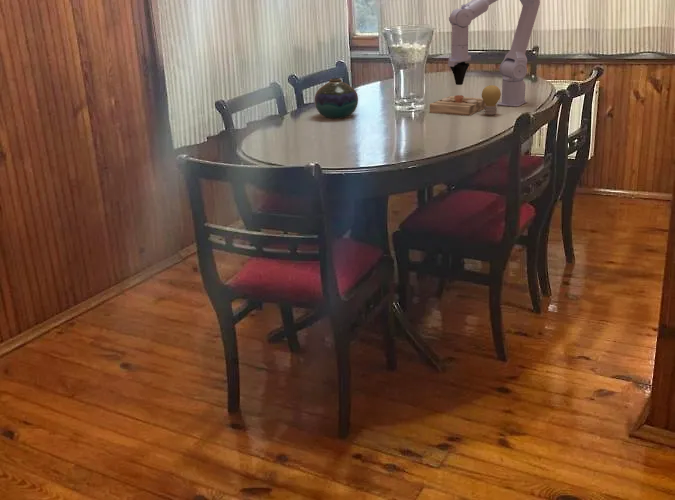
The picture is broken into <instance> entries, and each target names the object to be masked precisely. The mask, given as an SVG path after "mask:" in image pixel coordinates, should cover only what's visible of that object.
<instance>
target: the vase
mask: <svg viewBox="0 0 675 500" xmlns="http://www.w3.org/2000/svg"><path fill="white" fill-rule="evenodd" d="M358 103H359V97H358V93H357V91H356V90H355V88H354V87H353V86H351V85H349V84H348V83H346V82H344V81H342V78H340V77H339V78H338V77H334V78H330V79H329V81H328V82H327V83H325V84H323V85H322V86H321V87H320V88H319V89H318V90H316V92H315V95H314V107H315V108H316V110H317V112H318V113H319V114H320V115H321V116H323V118H328V119H344V118H348V117H350V116H351V115H352V114H353V113H354V112H355V110H356V109H357V108H358Z"/></svg>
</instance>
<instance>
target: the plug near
mask: <svg viewBox="0 0 675 500" xmlns="http://www.w3.org/2000/svg"><path fill="white" fill-rule="evenodd" d="M467 103H470V104H476V100H467Z"/></svg>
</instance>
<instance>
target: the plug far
mask: <svg viewBox="0 0 675 500" xmlns="http://www.w3.org/2000/svg"><path fill="white" fill-rule="evenodd" d="M441 99H442V101H444V102H450V101H451V98H446V97H442V98H441Z"/></svg>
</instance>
